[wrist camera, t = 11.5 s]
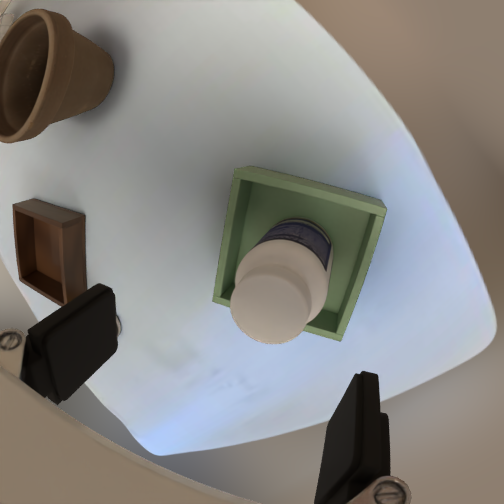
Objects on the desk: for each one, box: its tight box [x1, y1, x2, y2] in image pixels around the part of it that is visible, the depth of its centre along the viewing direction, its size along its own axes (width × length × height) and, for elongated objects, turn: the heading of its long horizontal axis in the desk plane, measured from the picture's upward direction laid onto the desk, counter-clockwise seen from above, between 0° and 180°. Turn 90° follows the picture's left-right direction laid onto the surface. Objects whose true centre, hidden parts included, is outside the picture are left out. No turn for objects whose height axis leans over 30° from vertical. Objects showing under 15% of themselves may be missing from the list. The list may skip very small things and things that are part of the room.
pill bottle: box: [230, 217, 333, 344], centre depth 20 cm, size 5×5×10 cm
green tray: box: [212, 166, 387, 341], centre depth 23 cm, size 10×10×4 cm
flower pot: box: [0, 9, 114, 143], centre depth 21 cm, size 12×11×10 cm
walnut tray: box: [13, 198, 87, 307], centre depth 31 cm, size 10×10×4 cm
